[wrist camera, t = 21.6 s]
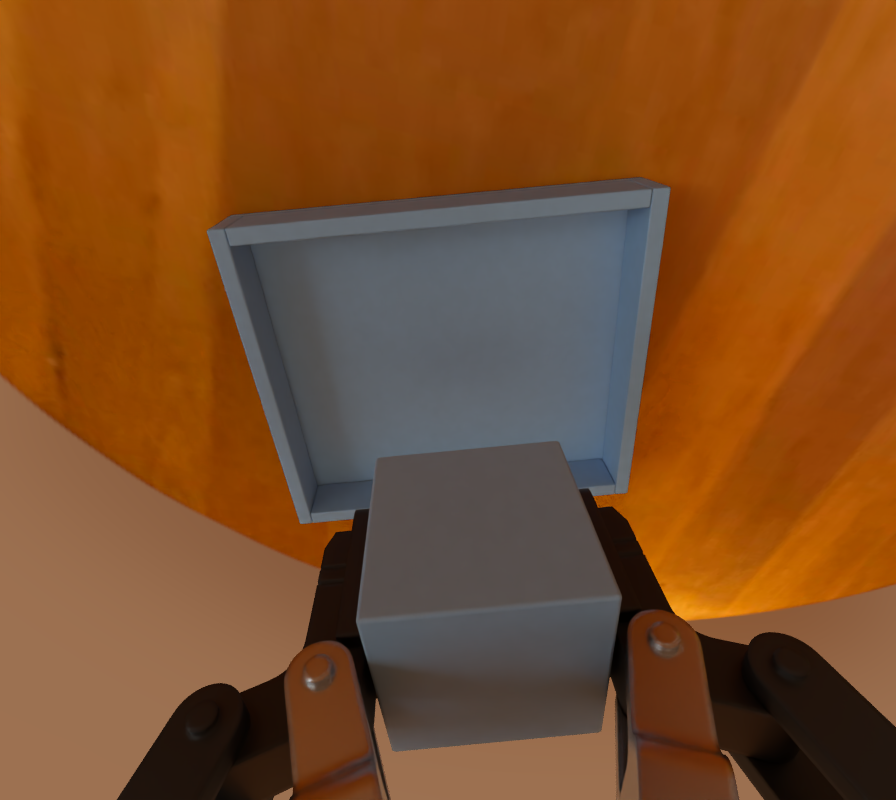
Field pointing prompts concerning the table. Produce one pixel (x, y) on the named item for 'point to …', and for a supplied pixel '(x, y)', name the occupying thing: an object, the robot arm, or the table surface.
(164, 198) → the table surface
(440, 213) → the blue tray
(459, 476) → the blue block
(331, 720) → the robot arm
